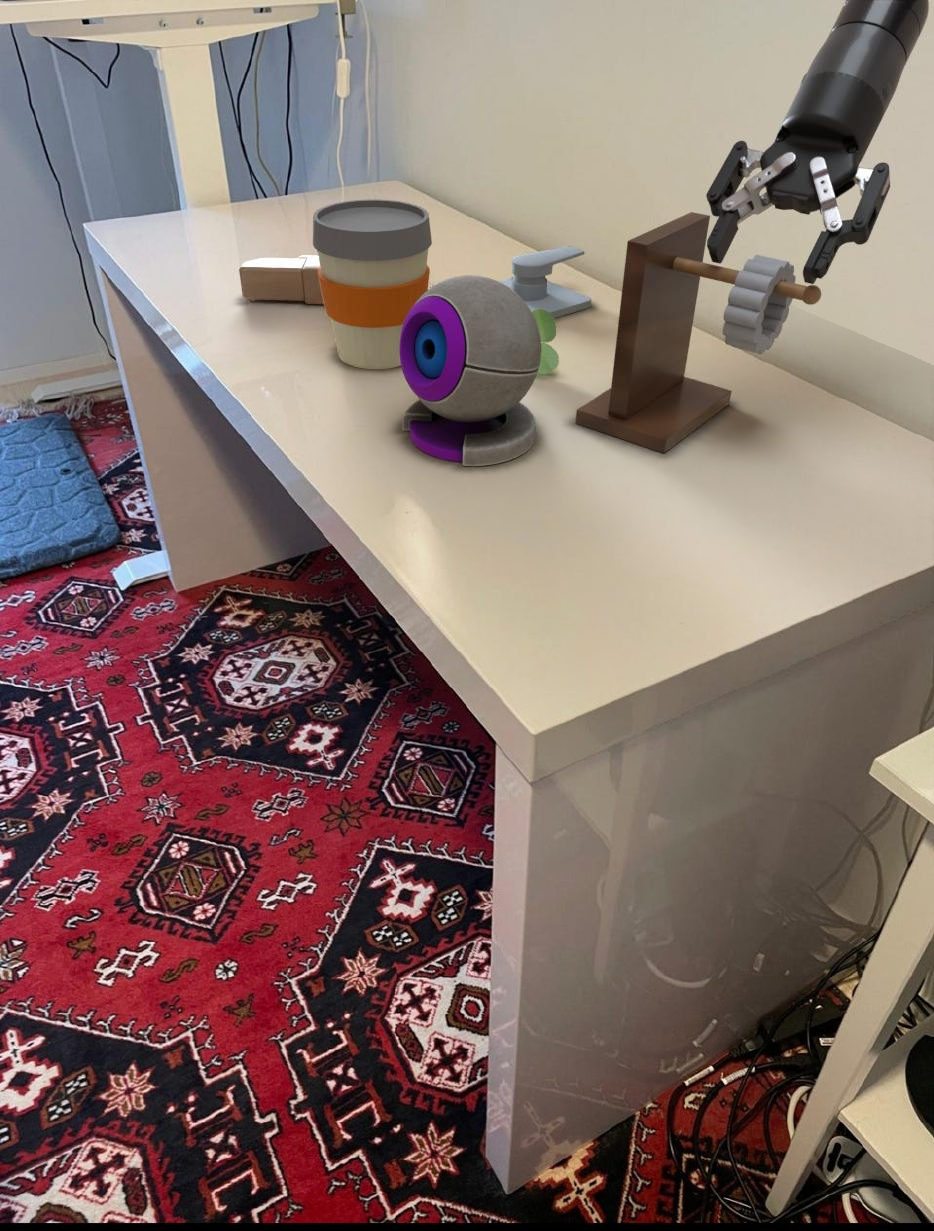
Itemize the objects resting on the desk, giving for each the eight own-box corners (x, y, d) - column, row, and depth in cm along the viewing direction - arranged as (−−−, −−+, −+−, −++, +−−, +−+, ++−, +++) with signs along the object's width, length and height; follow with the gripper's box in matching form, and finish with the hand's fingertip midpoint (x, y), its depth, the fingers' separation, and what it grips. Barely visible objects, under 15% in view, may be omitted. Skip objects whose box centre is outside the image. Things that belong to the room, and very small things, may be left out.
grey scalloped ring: (784, 337, 89) (803, 252, 84) (747, 365, 84) (764, 276, 79) (754, 330, 90) (771, 245, 86) (716, 357, 86) (731, 269, 81)
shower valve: (613, 258, 119) (523, 282, 111) (608, 302, 122) (521, 328, 115) (545, 234, 127) (457, 255, 119) (543, 276, 130) (457, 299, 122)
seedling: (531, 399, 110) (527, 392, 104) (488, 346, 111) (481, 335, 104) (580, 358, 109) (579, 347, 103) (536, 304, 109) (532, 290, 103)
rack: (575, 423, 95) (591, 236, 84) (644, 378, 104) (668, 204, 93) (751, 483, 86) (795, 282, 75) (810, 428, 95) (858, 241, 84)
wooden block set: (382, 262, 116) (236, 258, 117) (384, 307, 120) (242, 304, 120) (396, 221, 130) (264, 218, 130) (397, 263, 133) (269, 260, 134)
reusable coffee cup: (451, 343, 111) (451, 207, 102) (400, 384, 102) (396, 239, 92) (357, 325, 115) (349, 193, 106) (300, 363, 106) (286, 222, 97)
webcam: (377, 428, 93) (370, 273, 84) (476, 393, 100) (480, 247, 91) (462, 480, 86) (464, 316, 76) (563, 439, 92) (576, 283, 83)
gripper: (926, 140, 82) (843, 309, 82) (770, 118, 89) (693, 274, 89) (926, 78, 75) (836, 261, 75) (757, 59, 82) (674, 227, 82)
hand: (759, 268), depth 82 cm, fingers open, 8 cm apart
